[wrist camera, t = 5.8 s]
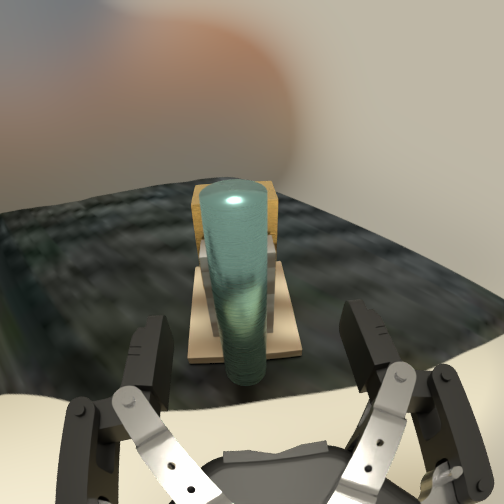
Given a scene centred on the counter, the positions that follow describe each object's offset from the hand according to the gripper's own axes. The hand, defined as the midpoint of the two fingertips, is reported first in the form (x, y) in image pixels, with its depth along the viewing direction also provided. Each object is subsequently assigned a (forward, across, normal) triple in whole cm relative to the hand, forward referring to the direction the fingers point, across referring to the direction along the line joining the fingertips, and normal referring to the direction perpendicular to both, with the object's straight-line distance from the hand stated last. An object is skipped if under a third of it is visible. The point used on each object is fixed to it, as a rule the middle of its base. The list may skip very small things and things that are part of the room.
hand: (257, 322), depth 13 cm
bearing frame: (+15, -1, -14) cm, 21 cm away
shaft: (+11, -1, -11) cm, 16 cm away
